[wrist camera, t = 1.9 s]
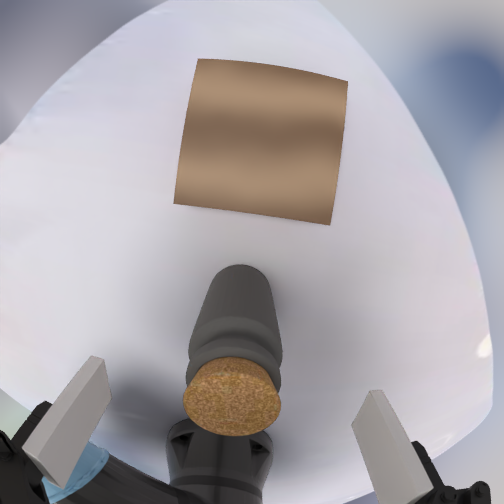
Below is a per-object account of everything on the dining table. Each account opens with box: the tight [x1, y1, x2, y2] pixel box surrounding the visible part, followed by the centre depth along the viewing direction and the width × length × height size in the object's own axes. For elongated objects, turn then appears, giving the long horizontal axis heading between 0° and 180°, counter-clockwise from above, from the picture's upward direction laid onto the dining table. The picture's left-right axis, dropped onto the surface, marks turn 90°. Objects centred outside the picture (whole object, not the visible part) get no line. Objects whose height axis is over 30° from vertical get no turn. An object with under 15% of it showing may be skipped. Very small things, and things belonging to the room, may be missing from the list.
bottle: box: [183, 265, 282, 436], centre depth 19 cm, size 6×6×15 cm
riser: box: [174, 59, 348, 225], centre depth 21 cm, size 12×12×4 cm
